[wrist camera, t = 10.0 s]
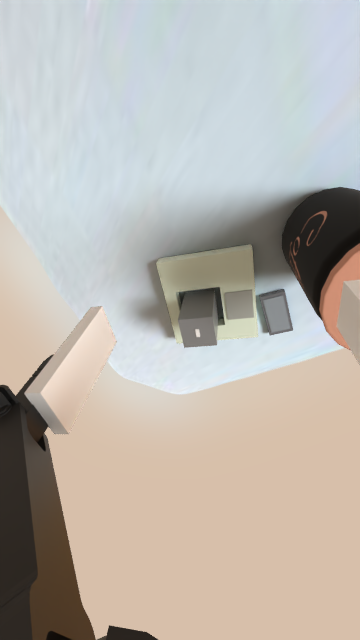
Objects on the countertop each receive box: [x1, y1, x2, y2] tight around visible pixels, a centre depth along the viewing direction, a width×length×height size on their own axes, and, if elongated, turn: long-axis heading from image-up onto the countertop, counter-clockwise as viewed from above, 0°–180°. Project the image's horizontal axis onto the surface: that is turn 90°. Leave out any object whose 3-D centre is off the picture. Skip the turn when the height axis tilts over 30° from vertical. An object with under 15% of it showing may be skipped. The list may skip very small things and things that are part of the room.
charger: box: [178, 289, 218, 348], centre depth 38 cm, size 4×4×8 cm
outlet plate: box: [156, 244, 258, 343], centre depth 40 cm, size 14×13×2 cm
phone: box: [259, 289, 293, 335], centre depth 40 cm, size 7×4×1 cm, turn 22°
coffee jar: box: [282, 187, 360, 350], centre depth 26 cm, size 11×11×18 cm
